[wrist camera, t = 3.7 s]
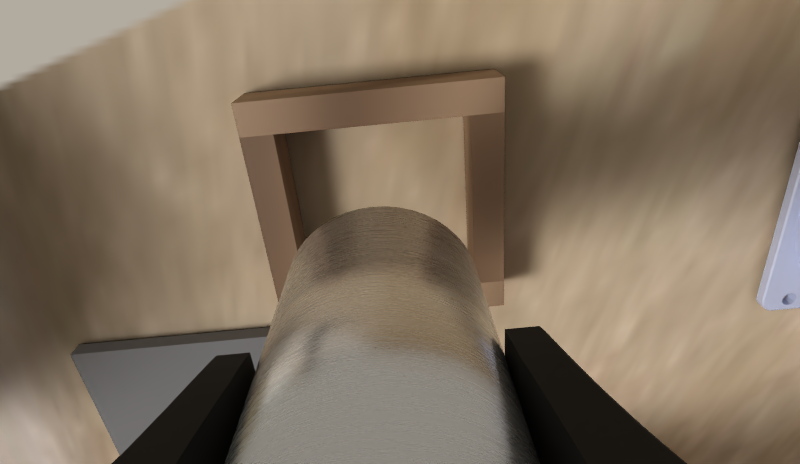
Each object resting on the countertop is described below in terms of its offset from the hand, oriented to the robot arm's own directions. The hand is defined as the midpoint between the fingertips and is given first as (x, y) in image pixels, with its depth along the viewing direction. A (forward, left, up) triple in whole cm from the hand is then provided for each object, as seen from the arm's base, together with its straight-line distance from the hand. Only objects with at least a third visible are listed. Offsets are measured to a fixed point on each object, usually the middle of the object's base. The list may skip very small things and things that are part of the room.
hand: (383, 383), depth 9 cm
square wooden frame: (0, 0, -9) cm, 9 cm away
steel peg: (0, 0, -3) cm, 3 cm away
